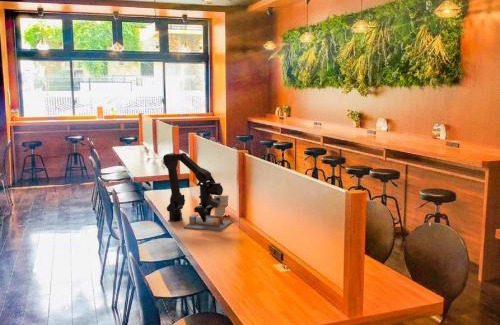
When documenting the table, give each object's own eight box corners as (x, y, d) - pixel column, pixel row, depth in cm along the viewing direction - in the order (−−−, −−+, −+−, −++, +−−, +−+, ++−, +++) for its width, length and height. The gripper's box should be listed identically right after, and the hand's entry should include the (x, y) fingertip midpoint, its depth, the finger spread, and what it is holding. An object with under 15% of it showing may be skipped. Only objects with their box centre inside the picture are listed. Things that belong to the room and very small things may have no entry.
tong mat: (183, 228, 274) (183, 219, 273) (197, 219, 292) (197, 211, 291) (220, 231, 267) (220, 222, 266) (232, 222, 285) (232, 213, 284)
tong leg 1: (196, 223, 279) (196, 216, 279) (197, 222, 280) (197, 216, 280) (218, 226, 274) (218, 218, 273) (219, 225, 275) (219, 218, 274)
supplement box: (229, 214, 301) (228, 193, 298) (228, 217, 296) (227, 195, 294) (215, 214, 301) (215, 193, 299) (214, 216, 297) (213, 195, 294)
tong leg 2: (198, 221, 282) (198, 215, 281) (199, 221, 283) (199, 214, 283) (222, 223, 279) (222, 216, 278) (222, 222, 280) (222, 215, 280)
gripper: (212, 198, 266) (213, 226, 268) (224, 190, 283) (225, 217, 286) (193, 197, 269) (194, 225, 272) (206, 190, 287) (207, 216, 289)
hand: (206, 220), depth 279 cm, fingers open, 5 cm apart
